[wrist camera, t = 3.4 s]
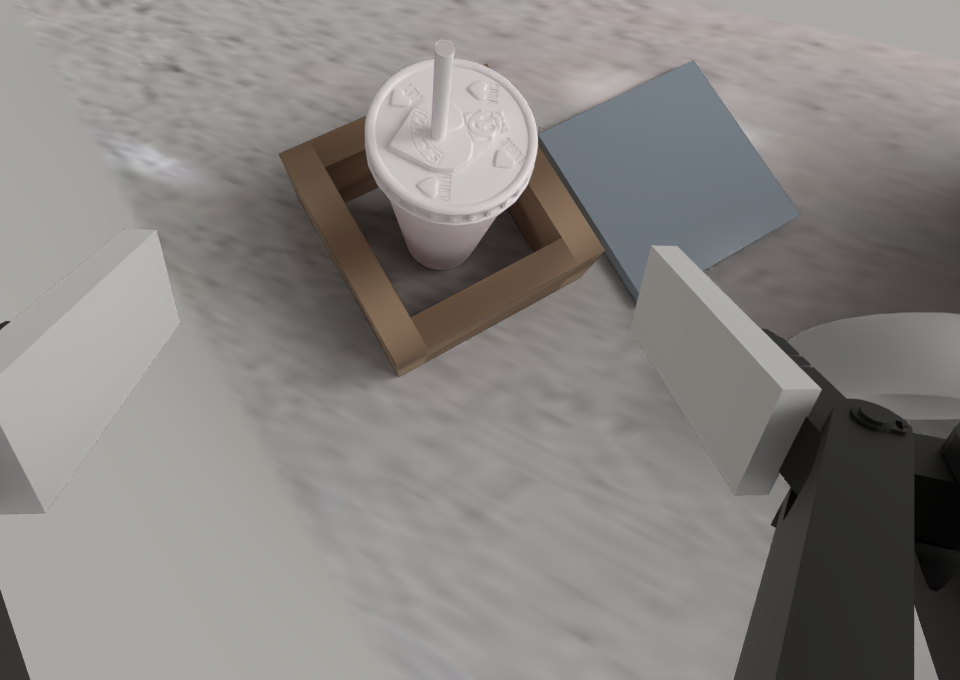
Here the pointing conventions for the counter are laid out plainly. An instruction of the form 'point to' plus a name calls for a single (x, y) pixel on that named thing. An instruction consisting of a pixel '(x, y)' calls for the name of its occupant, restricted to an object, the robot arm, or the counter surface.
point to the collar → (413, 341)
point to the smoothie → (449, 152)
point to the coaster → (666, 175)
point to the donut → (891, 361)
